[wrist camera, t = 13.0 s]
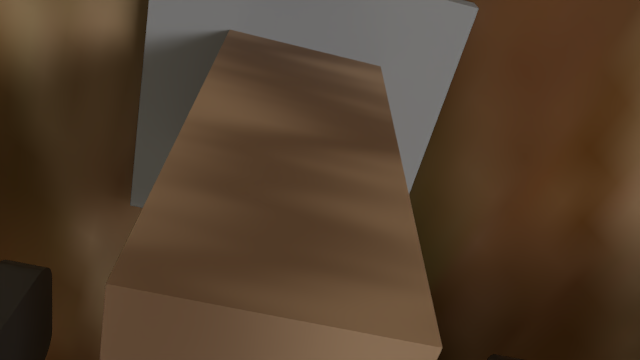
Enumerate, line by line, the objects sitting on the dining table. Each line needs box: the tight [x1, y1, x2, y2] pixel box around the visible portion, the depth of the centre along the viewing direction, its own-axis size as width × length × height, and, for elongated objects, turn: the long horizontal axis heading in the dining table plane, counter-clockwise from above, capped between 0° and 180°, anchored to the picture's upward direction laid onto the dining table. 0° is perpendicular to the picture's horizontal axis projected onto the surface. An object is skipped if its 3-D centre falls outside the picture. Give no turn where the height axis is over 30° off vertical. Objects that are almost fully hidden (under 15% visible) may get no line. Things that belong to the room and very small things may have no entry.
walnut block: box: [100, 30, 442, 360], centre depth 14 cm, size 4×4×11 cm
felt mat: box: [130, 0, 479, 208], centre depth 19 cm, size 9×9×1 cm
